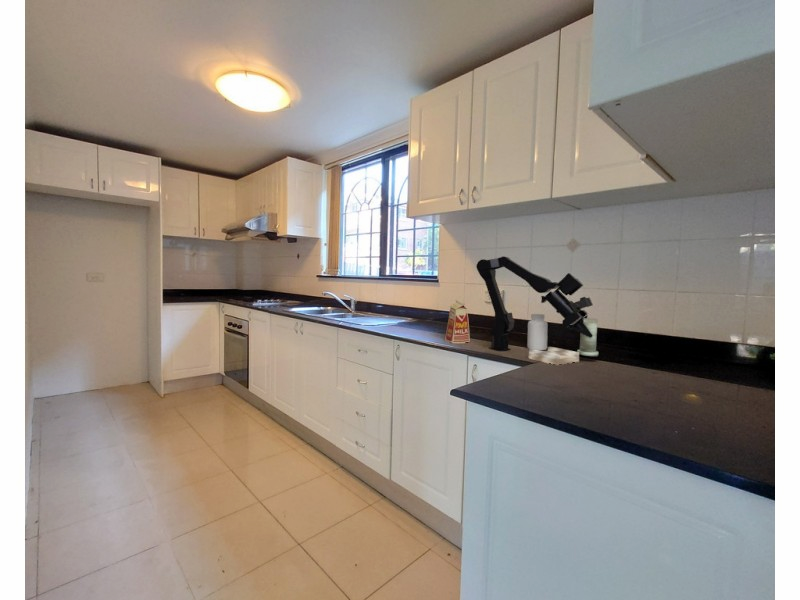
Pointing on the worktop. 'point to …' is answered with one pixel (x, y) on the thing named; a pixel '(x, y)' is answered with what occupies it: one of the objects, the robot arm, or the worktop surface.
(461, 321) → the milk carton
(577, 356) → the mottled cream slab
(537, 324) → the pill bottle
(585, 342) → the pale green cylinder
